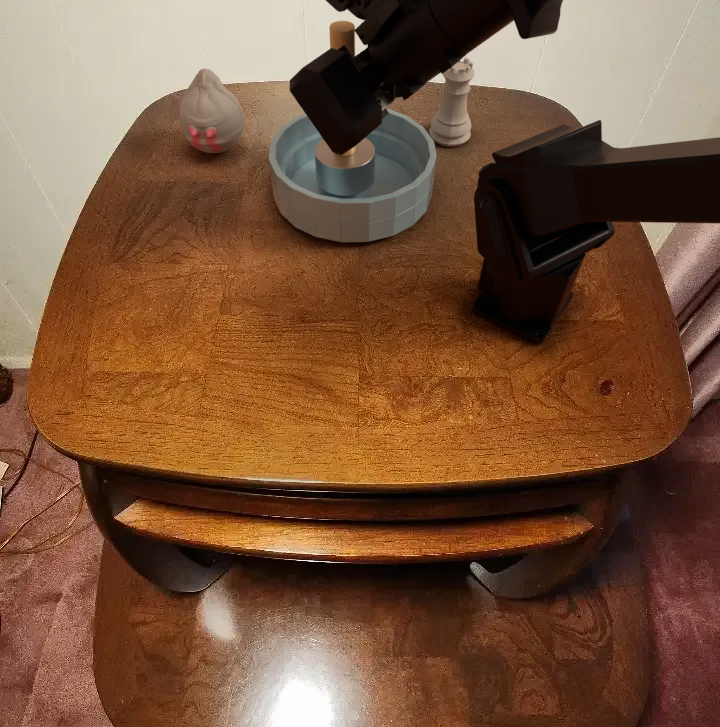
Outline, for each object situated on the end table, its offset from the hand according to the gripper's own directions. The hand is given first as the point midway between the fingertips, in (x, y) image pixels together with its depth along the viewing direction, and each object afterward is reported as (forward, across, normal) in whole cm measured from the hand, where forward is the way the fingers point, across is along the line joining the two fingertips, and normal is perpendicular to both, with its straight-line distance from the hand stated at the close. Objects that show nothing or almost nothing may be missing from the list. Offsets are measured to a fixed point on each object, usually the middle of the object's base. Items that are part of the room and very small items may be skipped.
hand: (331, 109), depth 55 cm
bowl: (+4, 0, +7) cm, 9 cm away
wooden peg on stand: (+4, 0, +6) cm, 7 cm away
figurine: (+16, +2, -4) cm, 16 cm away
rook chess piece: (+2, -14, +10) cm, 17 cm away
